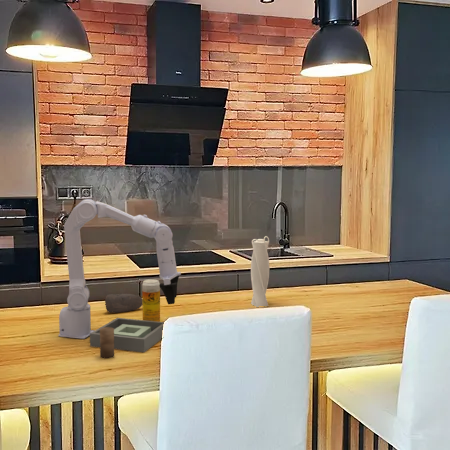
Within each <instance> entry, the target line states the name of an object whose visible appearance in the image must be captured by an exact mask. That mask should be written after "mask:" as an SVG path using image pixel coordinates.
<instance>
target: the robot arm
mask: <svg viewBox="0 0 450 450" xmlns="http://www.w3.org/2000/svg"><path fill="white" fill-rule="evenodd" d="M96 216H97V218H98V219H99V218H100V219H101V218H110V219H112V220H115V221H118V222H121V223H122V224H126V225H128V226H131V229H132V231H133V232H135V233H138V234H140V235H142V236H145V237H147V238H149V239H153V238H154V240H155V243H156V256H157V263H158V264H157V265H158V269H159V278H160V279H161V280H162V281H163V282H162V283H160V285H159V286H160V290H161V291H162V293H163V294H164V297H165V300H166V303H167V305H174V304H175V302H176V301H175V300H176V298H177V297H178V295H177V294H178V281H179V278H180V276H181V275H182V273H181V271H178V268H177V263H176V262H177V261H176V255H175V247H174V245H173V242H174V241H173V235H174V234H173V232H172V229H171V228H170V226H168V225H167V224H165V223H163V222H161V221H160V220H157V221H156V220H154V219H151V218H149V217H148V215H147V214H137V215H135V216H134V215H131V214H130V213H127V212H126V211H124V210H122V209H119V208H116V207H114V206H112V205H110V204H107V203H105V202H101V201H97V200H96V201H95V200H94V199H92V198H84V199H83V200H81V201H80V202H78V204H77V205H76V206H75V207H73V208H72V210H71V212H70V214H69V216H68V217H67V219H66V220H65V222H64V225H63V230H64V231H63V232H64V239H65V249H66V257H67V258H66V260H67V268H68V269H67V271H68V280H69V282H68V283H69V284H68V289H69V292H68V296H67V298H66V301H67V306H64V307H62V308H61V309H60V312H59V314H58V315H59V317H58V320H59V321H58V324H59V325H58V326H59V334H57V335H58V337H63V338H71V339H81V340H84V339H86V338H88V337H90V333H92V332H93V331H95V330H96V329H95V330H94V329H92V326H91V325H92V324H91V323H92V322H91V318H92V317H91V305H90V304H89V303H88V302H89V298H90V293H91V292H90V289H89V288H88V286H87V284H86V282H87V281H86V278H85V271H84V262H83V261H84V259H83V249H82V248H83V247H82V237H81V231H80V230H81V229H82V228H83V226H85V224H86V223H89V222H90V221H91V220H93V219H94V218H96Z"/></svg>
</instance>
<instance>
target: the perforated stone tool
mask: <svg viewBox="0 0 450 450" xmlns="http://www.w3.org/2000/svg"><path fill="white" fill-rule="evenodd" d="M104 302H105V304H104V305H105V309H106V311H107V313H124V312H133V311H137V310H138V309H140V308H141V307H143V304H142V296H139V295H136V294H131V293H119V294H117V293H111V294H106V297H105V298H104Z"/></svg>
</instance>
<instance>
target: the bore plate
mask: <svg viewBox="0 0 450 450" xmlns="http://www.w3.org/2000/svg"><path fill="white" fill-rule="evenodd" d="M150 332H151V327H146V326H136V325H126V324H122V325H121V326H119V327H117V328H116V329H114V335H119V336H129V337H138V338H143V337H145V336H146V335H147V334H149V333H150Z"/></svg>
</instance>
